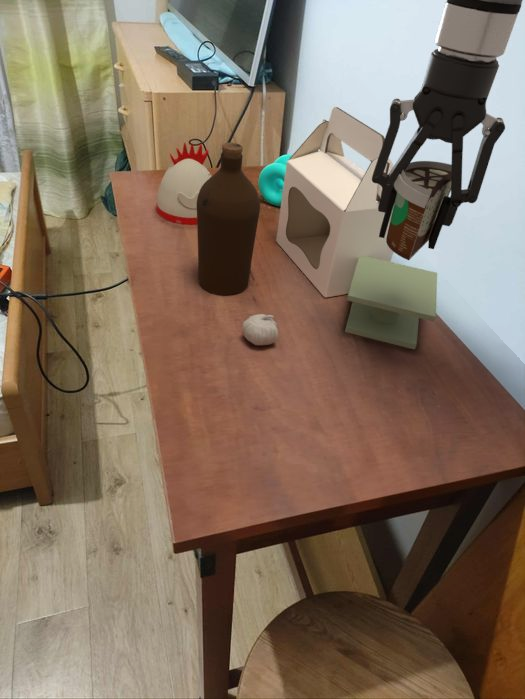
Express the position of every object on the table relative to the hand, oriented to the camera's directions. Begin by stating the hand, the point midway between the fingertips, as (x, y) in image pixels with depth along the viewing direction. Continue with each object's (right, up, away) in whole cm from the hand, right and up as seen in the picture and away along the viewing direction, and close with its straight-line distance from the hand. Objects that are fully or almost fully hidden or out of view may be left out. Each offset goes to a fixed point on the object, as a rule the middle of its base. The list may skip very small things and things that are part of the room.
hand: (406, 238), depth 72 cm
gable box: (-7, +2, +32) cm, 33 cm away
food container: (-1, 0, 0) cm, 1 cm away
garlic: (-21, -14, +12) cm, 28 cm away
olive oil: (-28, -3, +24) cm, 36 cm away
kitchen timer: (-37, +16, +44) cm, 60 cm away
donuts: (-16, +21, +53) cm, 60 cm away
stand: (+1, -10, +19) cm, 22 cm away
